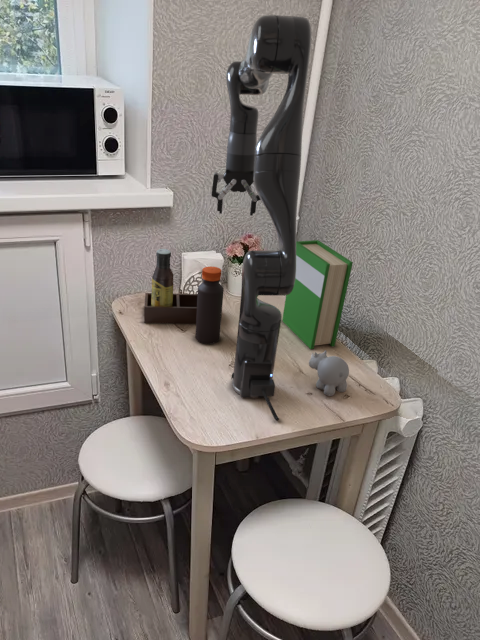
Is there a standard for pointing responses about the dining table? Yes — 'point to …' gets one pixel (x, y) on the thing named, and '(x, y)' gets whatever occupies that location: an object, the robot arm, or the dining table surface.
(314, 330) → the hardback book
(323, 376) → the round bodied animal figurine
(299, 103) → the robot arm
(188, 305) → the divided storage box
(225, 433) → the dining table surface
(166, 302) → the sauce bottle
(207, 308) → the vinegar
